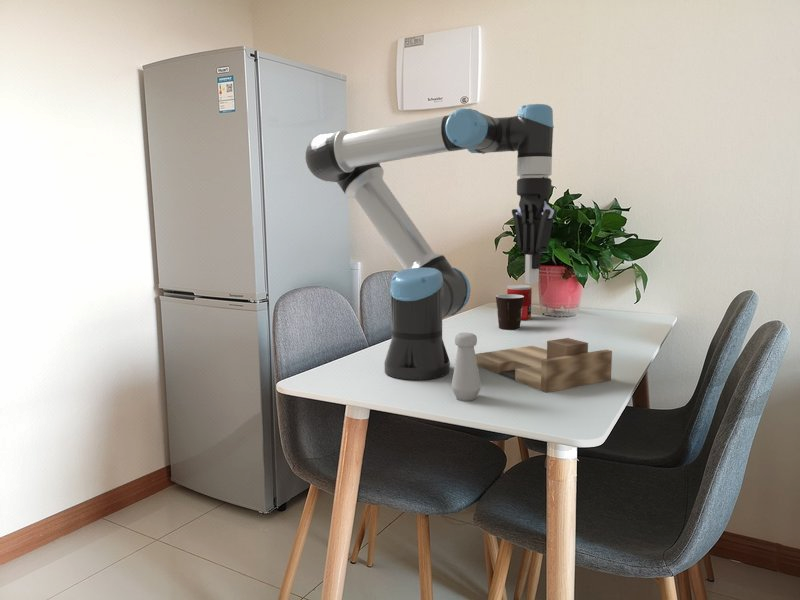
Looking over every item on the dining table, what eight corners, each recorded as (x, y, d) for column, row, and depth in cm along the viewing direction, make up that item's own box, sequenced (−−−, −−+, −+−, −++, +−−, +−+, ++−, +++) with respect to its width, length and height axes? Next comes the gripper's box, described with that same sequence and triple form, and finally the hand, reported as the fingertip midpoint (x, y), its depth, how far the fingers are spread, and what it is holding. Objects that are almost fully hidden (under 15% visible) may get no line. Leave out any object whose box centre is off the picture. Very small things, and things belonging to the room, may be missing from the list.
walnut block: (566, 374, 127) (566, 346, 127) (546, 367, 133) (547, 340, 132) (587, 370, 130) (588, 342, 129) (567, 364, 135) (568, 337, 135)
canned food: (533, 320, 202) (533, 287, 200) (509, 320, 201) (509, 287, 200) (528, 316, 209) (528, 284, 207) (505, 316, 209) (505, 285, 207)
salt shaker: (469, 391, 125) (470, 329, 123) (486, 399, 120) (487, 334, 118) (445, 396, 122) (445, 332, 120) (461, 404, 117) (461, 337, 115)
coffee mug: (504, 324, 196) (504, 293, 194) (528, 327, 190) (529, 295, 189) (484, 330, 187) (485, 297, 185) (509, 333, 181) (510, 300, 180)
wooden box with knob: (545, 392, 123) (546, 361, 122) (473, 364, 146) (474, 337, 145) (610, 380, 131) (612, 350, 130) (533, 355, 154) (533, 330, 153)
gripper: (567, 176, 131) (564, 285, 134) (528, 179, 142) (526, 279, 146) (540, 175, 128) (537, 287, 131) (502, 178, 139) (501, 281, 143)
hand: (531, 282), depth 139 cm, fingers closed
